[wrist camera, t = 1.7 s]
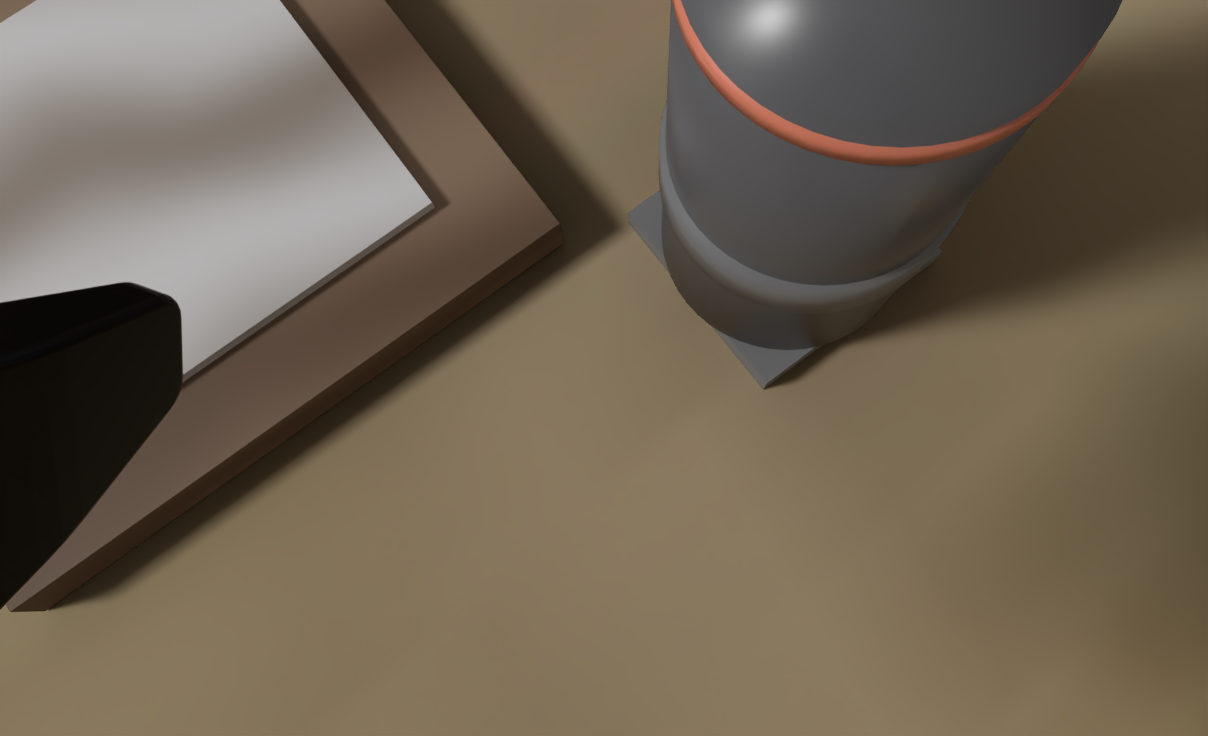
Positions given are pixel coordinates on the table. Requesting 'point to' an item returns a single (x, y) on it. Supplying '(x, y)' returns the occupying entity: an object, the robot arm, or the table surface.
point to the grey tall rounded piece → (838, 150)
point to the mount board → (245, 216)
